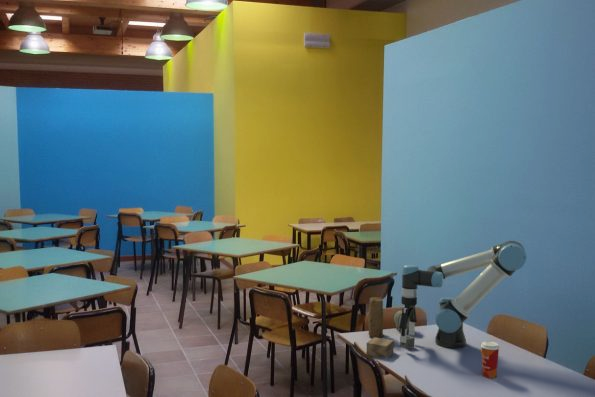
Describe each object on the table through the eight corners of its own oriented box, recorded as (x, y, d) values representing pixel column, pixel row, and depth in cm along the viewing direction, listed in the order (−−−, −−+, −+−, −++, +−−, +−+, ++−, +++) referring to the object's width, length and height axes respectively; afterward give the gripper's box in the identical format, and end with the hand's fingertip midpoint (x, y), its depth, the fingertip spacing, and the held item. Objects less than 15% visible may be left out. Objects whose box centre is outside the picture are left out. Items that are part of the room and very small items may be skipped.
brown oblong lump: (383, 338, 293) (383, 300, 292) (368, 338, 294) (369, 300, 293) (382, 332, 304) (383, 295, 303) (368, 332, 305) (368, 295, 304)
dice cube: (406, 349, 277) (406, 339, 277) (400, 346, 282) (400, 336, 281) (414, 347, 279) (414, 337, 279) (408, 344, 284) (408, 335, 284)
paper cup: (477, 372, 247) (478, 340, 246) (495, 372, 247) (496, 341, 246) (483, 379, 239) (483, 346, 238) (501, 379, 239) (502, 346, 238)
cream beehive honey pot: (401, 325, 317) (402, 306, 316) (423, 333, 303) (423, 313, 302) (387, 328, 311) (387, 308, 311) (408, 336, 297) (408, 315, 296)
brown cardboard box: (393, 352, 273) (393, 340, 272) (386, 358, 264) (386, 346, 263) (373, 349, 277) (374, 337, 277) (366, 355, 269) (366, 342, 268)
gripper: (409, 290, 292) (407, 330, 293) (393, 300, 270) (392, 343, 271) (423, 292, 288) (422, 333, 289) (409, 302, 266) (407, 346, 268)
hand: (407, 338), depth 280 cm, fingers open, 13 cm apart
